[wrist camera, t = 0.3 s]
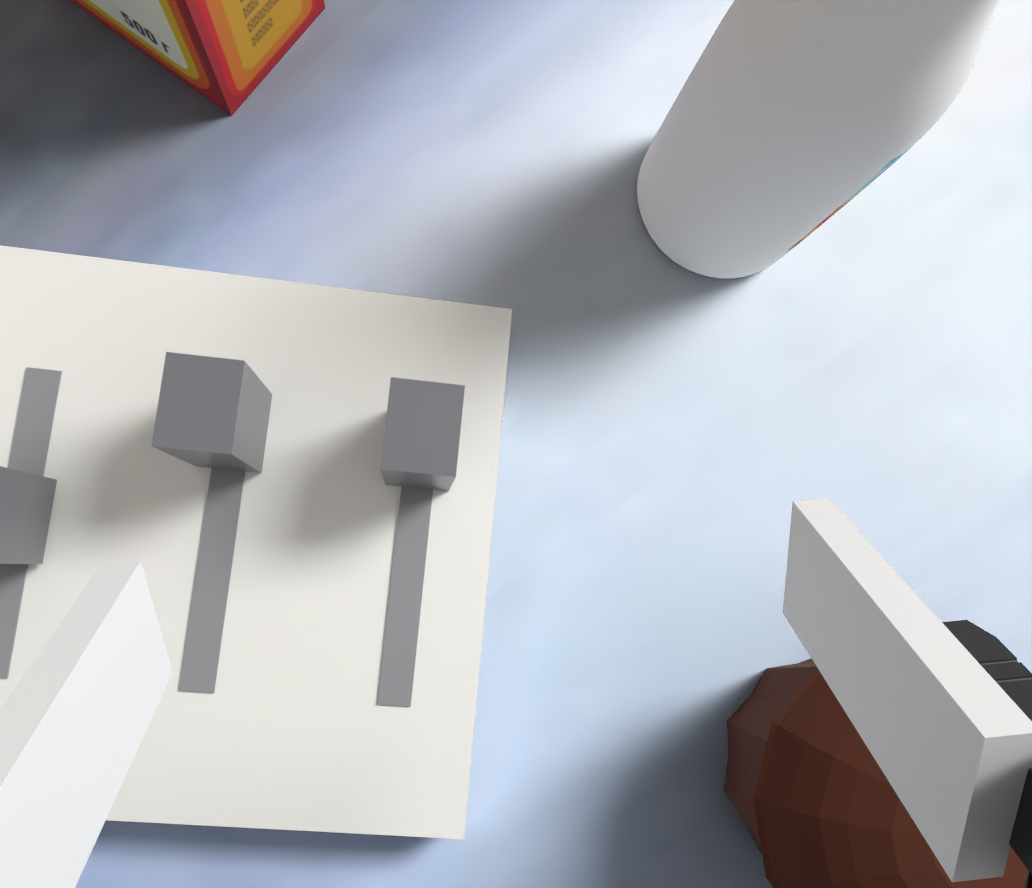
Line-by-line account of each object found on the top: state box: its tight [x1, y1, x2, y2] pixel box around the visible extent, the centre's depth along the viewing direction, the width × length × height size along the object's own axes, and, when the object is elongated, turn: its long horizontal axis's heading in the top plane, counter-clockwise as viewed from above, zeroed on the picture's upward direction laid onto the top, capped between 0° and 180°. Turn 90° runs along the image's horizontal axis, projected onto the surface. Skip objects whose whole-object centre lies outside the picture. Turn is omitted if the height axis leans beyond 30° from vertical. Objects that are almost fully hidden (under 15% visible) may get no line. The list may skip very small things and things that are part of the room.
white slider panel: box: [0, 246, 512, 839], centre depth 29 cm, size 20×20×8 cm
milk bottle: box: [637, 0, 999, 279], centre depth 28 cm, size 8×8×20 cm
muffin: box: [724, 658, 1029, 888], centre depth 30 cm, size 12×11×10 cm
